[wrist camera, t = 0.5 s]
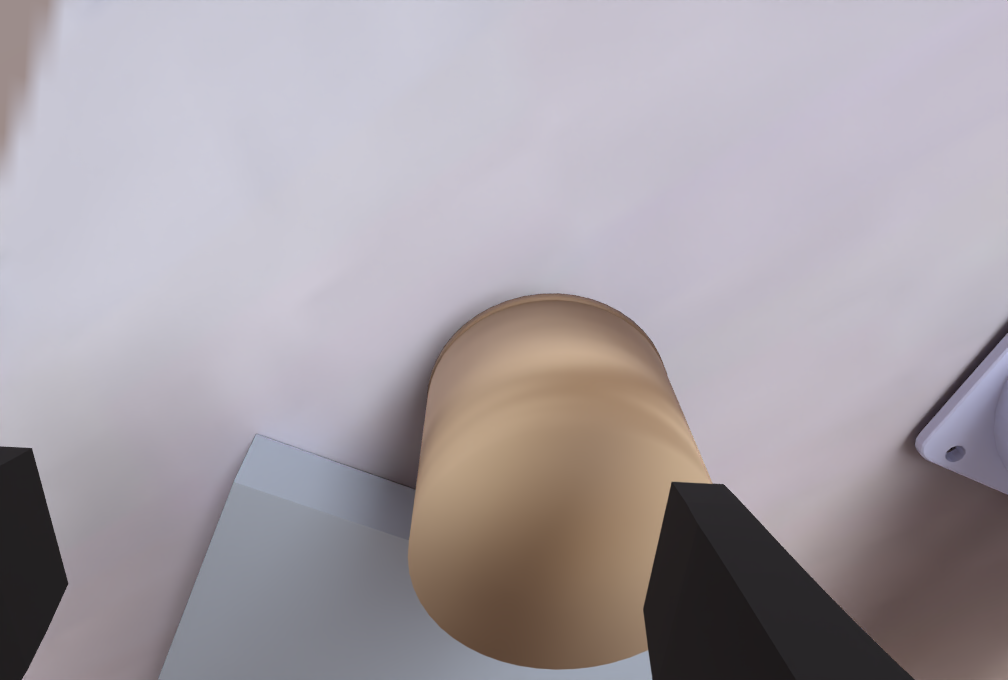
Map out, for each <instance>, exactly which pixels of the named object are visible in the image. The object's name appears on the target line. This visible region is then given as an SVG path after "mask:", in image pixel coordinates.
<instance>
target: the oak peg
mask: <svg viewBox="0 0 1008 680" xmlns="http://www.w3.org/2000/svg"><path fill="white" fill-rule="evenodd" d="M671 482H689V483H708V484H713V483H712V481H711V479H710V476H709V474H708V471H707V469H706V467H705V464H704V462H703V460H702V457H701V455H700V452H699V450H698V448H697V445H696V443H695V441H694V438H693V436H692V433H691V431H690V429H689V426H688V424H687V421H686V419H685V417H684V414H683V412H682V410H681V407H680V405H679V402H678V400H677V398H676V395H675V393H674V390H673V388H672V386H671V383H670V381H669V379H668V376H667V373H666V370H665V367H664V365H663V362H662V360H661V357H660V355H659V353H658V351H657V349H656V348H655V346H654V344H653V342H652V341H651V340H650V338H649V337H648V336H647V335H646V333H645V332H644V331H643V330H642V329H641V328H640V327H639V326H638V325H637V324H636V323H635V322H634V321H632V320H631V319H630V318H628V317H627V316H625V315H624V314H623V313H621V312H620V311H618V310H616V309H614V308H612V307H610V306H608V305H606V304H604V303H601V302H598V301H595V300H592V299H589V298H585V297H580V296H576V295H568V294H536V295H529V296H523V297H519V298H515V299H512V300H508V301H505V302H503V303H500V304H498V305H495V306H493V307H491V308H489V309H487V310H485V311H484V312H482V313H480V314H478V315H477V316H475V317H474V318H473V319H471V320H470V321H468V322H467V323H466V324H464V325H463V326H462V327H461V328H460V329H459V330H458V331H457V332H456V333H455V334H454V335H453V336H452V338H451V339H450V340H449V341H448V343H447V344H446V345H445V346H444V348H443V350H442V351H441V353H440V355H439V356H438V358H437V360H436V363H435V365H434V367H433V370H432V372H431V377H430V381H429V385H428V392H427V404H426V414H425V422H424V429H423V437H422V445H421V452H420V460H419V468H418V475H417V483H416V491H415V498H414V506H413V514H412V521H411V529H410V537H409V547H408V566H409V574H410V577H411V581H412V585H413V588H414V590H415V592H416V594H417V597H418V599H419V601H420V603H421V604H422V606H423V607H424V609H425V610H426V612H427V613H428V614H429V616H430V617H431V618H432V619H433V620H434V621H435V622H436V623H437V625H438V626H439V627H440V628H441V629H443V630H444V631H445V632H446V633H448V634H449V635H450V636H451V637H452V638H454V639H455V640H457V641H458V642H460V643H462V644H463V645H465V646H466V647H468V648H470V649H472V650H474V651H476V652H478V653H480V654H482V655H485V656H487V657H490V658H493V659H496V660H498V661H501V662H505V663H509V664H513V665H517V666H523V667H530V668H536V669H552V670H562V669H580V668H589V667H596V666H600V665H605V664H610V663H614V662H617V661H620V660H624V659H627V658H630V657H633V656H635V655H638V654H640V653H643V652H645V651H647V650H648V644H647V637H646V629H645V621H644V613H643V607H644V602H645V598H646V594H647V589H648V585H649V580H650V576H651V571H652V567H653V562H654V558H655V554H656V549H657V545H658V540H659V536H660V531H661V527H662V522H663V518H664V513H665V509H666V505H667V500H668V496H669V491H670V487H671Z"/></svg>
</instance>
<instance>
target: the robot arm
mask: <svg viewBox="0 0 1008 680" xmlns="http://www.w3.org/2000/svg"><path fill="white" fill-rule="evenodd" d="M955 446H956V448H955V449H954V450H952V451H951V452H948V453H947V451H948V450H949V449H951V448H952V447H955ZM915 447H916V449H917V451H918V452H919V453H920V454H921V456H922V457H923V458H925V459H926V460H928V461H930V462H932V463H935V464H937V465H939V466H942V467H944V468H946V469H949V470H951V471H953V472H956V473H958V474H960V475H963V476H965V477H967V478H970V479H972V480H974V481H977V482H979V483H981V484H984V485H986V486H988V487H991V488H993V489H995V490H998V491H1000V492H1002V493H1005V494H1007V495H1008V333H1007V334H1006V335H1005V337H1004V338H1003V339H1002V340H1001V341H1000V342H999V343H998V344H997V346H996V347H995V348H994V349H993V350H992V351H991V352H990V354H989V355H988V356H987V357H986V358H985V359H984V360H983V362H982V363H981V364H980V365H979V366H978V367H977V368H976V370H975V371H974V372H973V373H972V374H971V375H970V376H969V378H968V379H967V380H966V381H965V382H964V383H963V384H962V386H961V387H960V388H959V389H958V390H957V391H956V392H955V394H954V395H953V396H952V397H951V398H950V399H949V400H948V401H947V403H946V404H945V405H944V406H943V407H942V408H941V409H940V411H939V412H938V413H937V414H936V415H935V416H934V417H933V419H932V420H931V421H930V422H929V423H928V424H927V425H926V427H925V428H924V429H923V430H922V431H921V432H920V433H919V435H918V437H917V438H916V441H915ZM67 585H68V581H67V577H66V573H65V570H64V566H63V562H62V559H61V555H60V551H59V547H58V544H57V540H56V536H55V532H54V529H53V525H52V521H51V518H50V514H49V510H48V506H47V503H46V499H45V495H44V492H43V488H42V484H41V480H40V477H39V473H38V469H37V465H36V462H35V458H34V454H33V451H32V448H19V447H0V680H22V678H23V676H24V675H25V673H26V671H27V670H28V668H29V666H30V664H31V662H32V660H33V658H34V656H35V654H36V652H37V650H38V648H39V646H40V644H41V642H42V640H43V638H44V636H45V634H46V631H47V629H48V627H49V625H50V623H51V621H52V618H53V616H54V614H55V612H56V610H57V607H58V605H59V603H60V601H61V599H62V596H63V594H64V592H65V590H66V587H67ZM643 613H644V621H645V629H646V637H647V644H648V652H649V660H650V666H651V673H652V680H914V679H913V678H912V677H911V676H910V675H909V674H908V673H907V672H906V671H905V670H904V669H903V668H902V667H900V666H899V665H898V664H897V663H896V662H895V661H894V660H893V659H892V658H891V657H890V656H889V655H888V654H887V653H886V652H885V651H884V650H883V649H882V648H881V647H880V646H879V645H878V644H877V643H876V642H875V641H874V640H873V639H872V638H871V637H870V636H869V635H868V634H867V633H866V632H864V631H863V630H862V629H861V628H860V627H859V626H858V625H857V624H856V623H855V622H854V621H853V620H852V619H851V618H850V617H849V616H848V614H847V613H846V612H845V611H844V610H843V609H842V608H841V607H840V606H839V605H838V604H837V603H836V602H835V601H834V600H833V599H832V598H831V597H830V596H829V595H828V594H827V593H826V592H825V591H824V590H823V589H822V588H821V587H820V586H819V585H818V584H817V583H816V582H815V581H814V580H813V578H812V577H811V576H810V575H809V574H808V573H807V572H806V571H805V570H804V569H803V568H802V567H801V566H800V565H799V564H798V563H797V562H796V561H795V559H794V558H793V557H792V556H791V555H790V554H789V553H788V552H787V551H786V550H785V549H784V548H783V547H782V546H781V545H780V543H779V542H778V541H777V540H776V539H775V538H774V537H773V536H772V535H771V534H770V533H769V532H768V531H767V529H766V528H765V527H764V526H763V525H762V524H761V523H760V522H759V521H758V520H757V519H756V518H755V517H754V515H753V514H752V513H751V512H750V511H749V510H748V509H747V508H746V507H745V506H744V505H743V504H742V503H741V502H740V501H739V499H738V498H737V497H736V496H735V495H734V494H733V493H732V492H731V491H730V490H729V489H728V488H727V487H726V486H725V485H724V484H708V483H689V482H671V487H670V491H669V496H668V500H667V505H666V509H665V513H664V518H663V522H662V527H661V531H660V536H659V540H658V545H657V549H656V554H655V558H654V562H653V567H652V571H651V576H650V580H649V585H648V589H647V594H646V598H645V602H644V607H643Z"/></svg>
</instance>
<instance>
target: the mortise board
mask: <svg viewBox="0 0 1008 680" xmlns="http://www.w3.org/2000/svg"><path fill="white" fill-rule="evenodd" d="M415 491H416V490H415V489H412V488H409V487H406V486H403V485H400V484H397V483H395V482H392V481H389V480H386V479H383V478H380V477H378V476H375V475H372V474H369V473H366V472H363V471H360V470H358V469H355V468H352V467H349V466H346V465H343V464H340V463H338V462H335V461H332V460H329V459H326V458H323V457H321V456H318V455H315V454H312V453H309V452H306V451H303V450H301V449H298V448H295V447H292V446H289V445H286V444H283V443H281V442H278V441H275V440H272V439H269V438H266V437H264V436H261V435H258V434H256V436H255V438H254V440H253V442H252V444H251V446H250V448H249V450H248V453H247V455H246V457H245V459H244V461H243V463H242V465H241V468H240V470H239V472H238V474H237V476H236V478H235V480H234V483H233V485H232V488H231V490H230V493H229V496H228V498H227V501H226V503H225V506H224V509H223V511H222V514H221V516H220V519H219V522H218V524H217V527H216V529H215V532H214V535H213V537H212V540H211V542H210V545H209V548H208V550H207V553H206V555H205V558H204V561H203V563H202V566H201V568H200V571H199V574H198V576H197V579H196V582H195V584H194V587H193V589H192V592H191V595H190V597H189V600H188V602H187V605H186V608H185V610H184V613H183V615H182V618H181V621H180V623H179V626H178V628H177V631H176V634H175V636H174V639H173V641H172V644H171V647H170V649H169V652H168V654H167V657H166V660H165V662H164V665H163V667H162V670H161V673H160V675H159V678H158V680H652V673H651V666H650V660H649V652H648V650H647V651H645V652H643V653H640V654H638V655H635V656H633V657H630V658H627V659H624V660H620V661H617V662H614V663H610V664H605V665H600V666H596V667H589V668H580V669H562V670H552V669H536V668H530V667H523V666H517V665H513V664H509V663H505V662H501V661H498V660H496V659H493V658H490V657H487V656H485V655H482V654H480V653H478V652H476V651H474V650H472V649H470V648H468V647H466V646H465V645H463V644H462V643H460V642H458V641H457V640H455V639H454V638H452V637H451V636H450V635H449V634H448V633H446V632H445V631H444V630H443V629H441V628H440V627H439V626H438V625H437V623H436V622H435V621H434V620H433V619H432V618H431V617H430V616H429V614H428V613H427V612H426V610H425V609H424V607H423V606H422V604H421V603H420V601H419V599H418V597H417V594H416V592H415V590H414V588H413V585H412V581H411V577H410V574H409V566H408V547H409V537H410V529H411V521H412V514H413V506H414V498H415Z"/></svg>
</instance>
